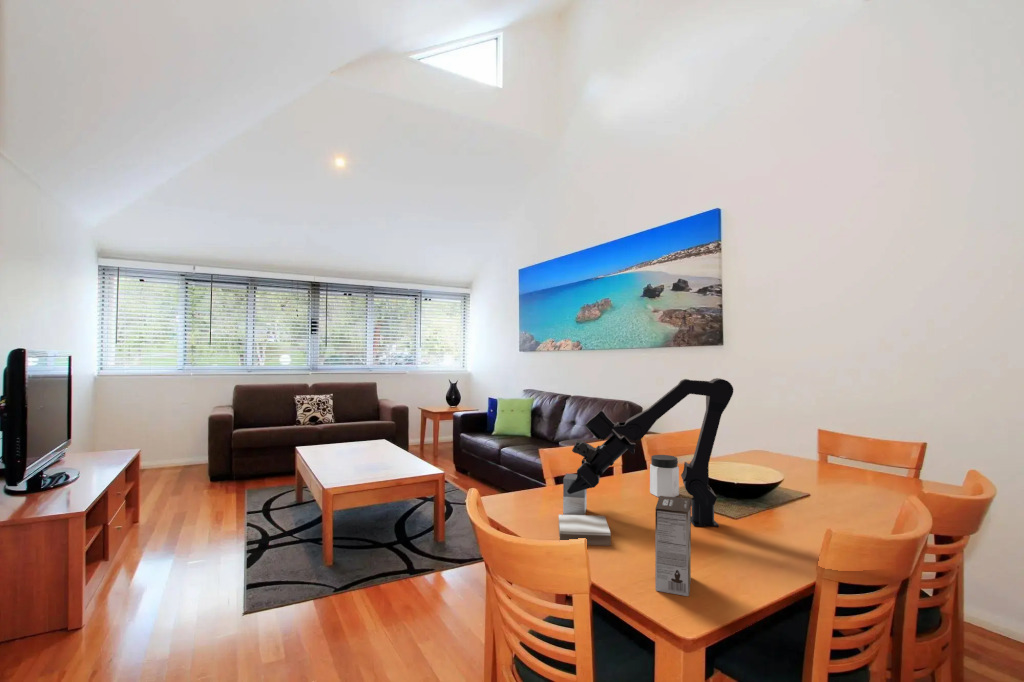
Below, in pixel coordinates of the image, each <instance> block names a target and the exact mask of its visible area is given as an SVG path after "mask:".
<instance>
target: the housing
mask: <svg viewBox="0 0 1024 682" xmlns="http://www.w3.org/2000/svg"><path fill="white" fill-rule="evenodd" d="M576 478H577V473H565V475H564V477H563V479H562V480H563V481H562V483H563V484H562V485H563V488H562V489H563V492H562V493H563V497H562V501H563V502H562V503H563V506H562V512H563V514H562V515H586V511H587V509H588V508H587V505H588V504H587V492H588V491H587V489H585V490H581V491H578V492H575V493H572V494H569V493H568V492H567V490H568V489H569V488H570V486H571V485H572V484H573V482H574V481H575V479H576Z"/></svg>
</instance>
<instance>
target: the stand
mask: <svg viewBox="0 0 1024 682" xmlns="http://www.w3.org/2000/svg"><path fill="white" fill-rule="evenodd" d="M558 535H559V537H560V538H559V541H560V540H569V539H578V538H586V539H587V544H588V545H587V546H604V547H605V546H606V547H607V546H611V545H612V544H611V543H612V539H611V538H612V537H611V536H612V533H611V529H610V528H609V524H608V522H607V519H606V516H605V515H591V514H589V515H586V514H585V515H567V514H559V513H558Z"/></svg>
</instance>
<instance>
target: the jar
mask: <svg viewBox="0 0 1024 682" xmlns="http://www.w3.org/2000/svg"><path fill="white" fill-rule="evenodd" d="M650 458H651V462H650V464H649V493H650V494H652V495H654V496H655V497H657V498H659V496H668V497H678V496H680V466H679V465H678V462H679V461H678V457H676V456H673V455H671V454H670V455H669V454H654V455H651V457H650Z"/></svg>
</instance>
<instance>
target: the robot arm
mask: <svg viewBox="0 0 1024 682" xmlns="http://www.w3.org/2000/svg"><path fill="white" fill-rule="evenodd" d="M689 395H698V396H705V412H704V415H703V420H702V424H701V427H700V431H699V434H698V439H697V443H696V445H695V450H694V454H693V457H692V459H691V461H690V463H689V462H686V461H684V463H683V464H684V465H683V470H682V473H681V474H680V476H681V479H682V483H683V485H684V488H685V491H686V492H687V493H688V494H689V495H691V496H692V497H691V525H693V526H694V527H710V528H711V527H713V528H714V527H715V528H717V527H718V528H719V526H720V525H719V523H718V522H717V521H716V520H715V504H716V502H717V499H718V497H717V495H716V493H715V492H714V490H713V489H712V487H710V485H709V478H710V477H709V475H710V474H709V472H710V470H709V464H710V459H711V456H712V452H713V448H714V445H715V441H716V438H717V433H718V429H719V425H720V422H721V418H722V414H723V413H724V411H725V410H726V408H727V407H728V405H729V403H730V401H731V399H732V397H733V395H734V386H733V385H732V383H731V382H730V381H728V380H726V379H724V378H723V379H722V378H721V377H720V378H718V377H716V378H713V379H711V380H709V381H708V380H696V379H695V380H694V379H693V380H692V379H688V378H684V379H681V380H680V381H679V382H678V384H676V385H675V386H673V387H672V388H671V389H670V390H669V391H667V393H665V394H664V395H662V397H660V398H659V399H658V400H657V401H656V402H654V403H653V404H651V406H649V407H648V408H646V409H644V410H643V411H641V412H638V413H637V414H635V415H633V416H631V417H630V418H628V419H626V421H620V422H619V421H616V422H613V421H612V419H611V418H610V417H609V416H608V415H607V414H606V412H605V411H604V410H602V409H601V410H600V411H599V412H597V413H596V414H595V415H594V416H592V417H591V418H590V419H589V420H588V421H587V422H586V423H585V424H584V427H585V428H586V429H587V430H588V431H589V432H590V434H591V435H593V436H594V437H595V438H596V439H597V440H602V441H605V442H603V443H602V444H601V445H598V446H596V447H594V446H592V445H591V444H590V443H587V442H585V441H584V440H581V439H579V438H578V439H577V440H576V441H575V443H574V446H573V448H572V450H571V451H572V452H573V453H574V454H577V455H579V456H581V457H583V458H582V460H581V465H580V466H579V467H578V468H577V470H576V474H577V478H576V479H575V481H574V482H573V484H572V485H571V486H570V488H569V489H568V490H567V492H568V493H569V494H572V493H575V492H578V491H581V490H585V489H592V488H596V487H597V486H598V484H599V483H600V479H601V478H600V477H601V476H602V475H604V472H605V471H606V470H607V469H608V468H609V467H612V466H613V465H614V464H615V462H616V461H617V460H618V459H619V458H620V457H622V456H623V454H625V453H626V451H629V452H630V453H631V454H632V455H635V453H636V452H635V451H636V450H635V447H636V443H635V442H638V441H640V440H641V439H643V438H644V437H645V436H646V435H647V433H648V432H649V431H650V430H651V428H652V427H653V425H654V424H655V423H656V421H658V420H659V419H660V418H662V417H663V416H664V415H666V414H667V413H668V412H669V411H670V410H671V409H672V408H674V407H675V406H676V405H677V404H679V403H680V402H681V401H682V400H683V399H685V398H686V397H687V396H689ZM610 435H611V436H610ZM620 435H621V436H620ZM609 436H610V437H609ZM608 437H609V438H608ZM630 441H634V442H630Z"/></svg>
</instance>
